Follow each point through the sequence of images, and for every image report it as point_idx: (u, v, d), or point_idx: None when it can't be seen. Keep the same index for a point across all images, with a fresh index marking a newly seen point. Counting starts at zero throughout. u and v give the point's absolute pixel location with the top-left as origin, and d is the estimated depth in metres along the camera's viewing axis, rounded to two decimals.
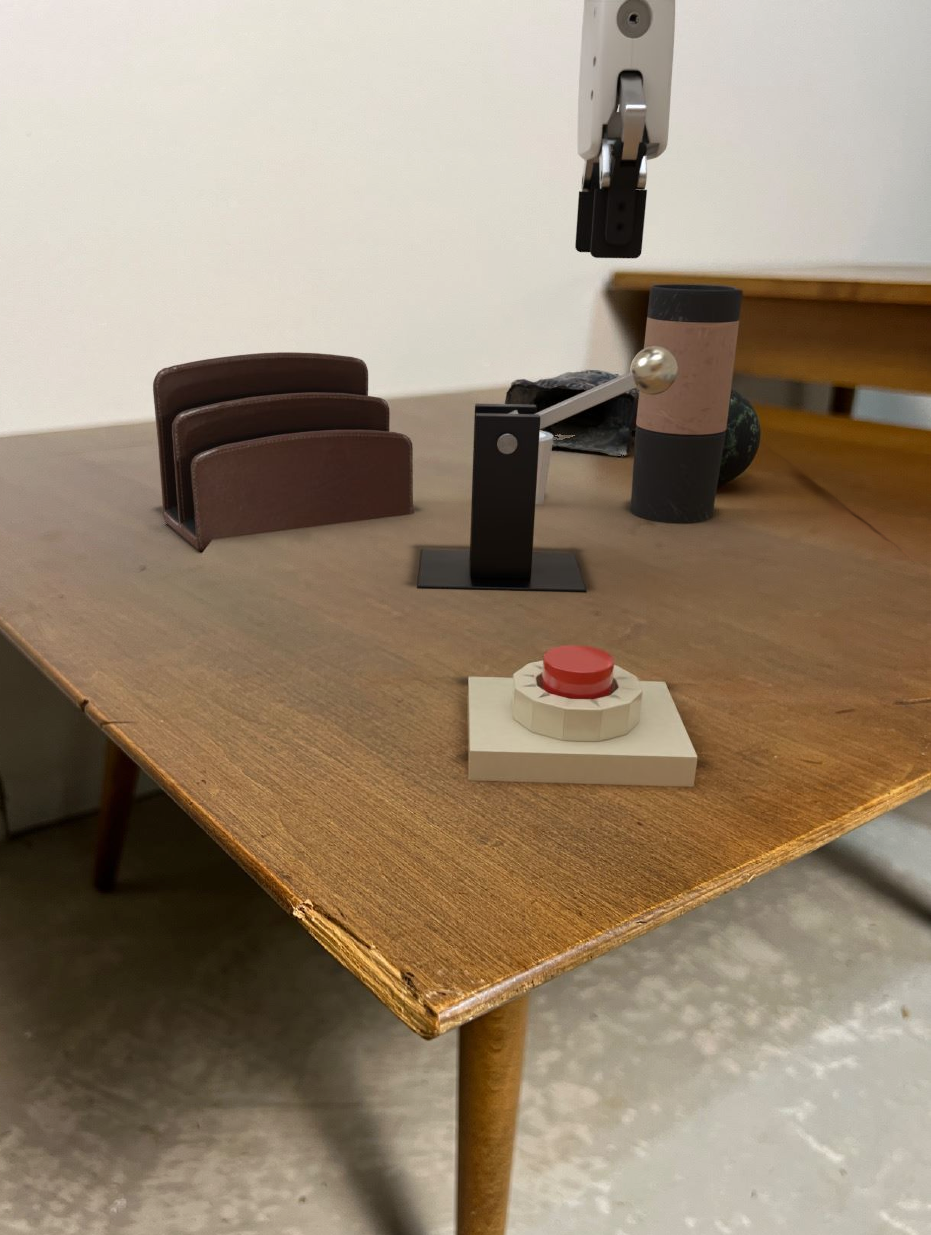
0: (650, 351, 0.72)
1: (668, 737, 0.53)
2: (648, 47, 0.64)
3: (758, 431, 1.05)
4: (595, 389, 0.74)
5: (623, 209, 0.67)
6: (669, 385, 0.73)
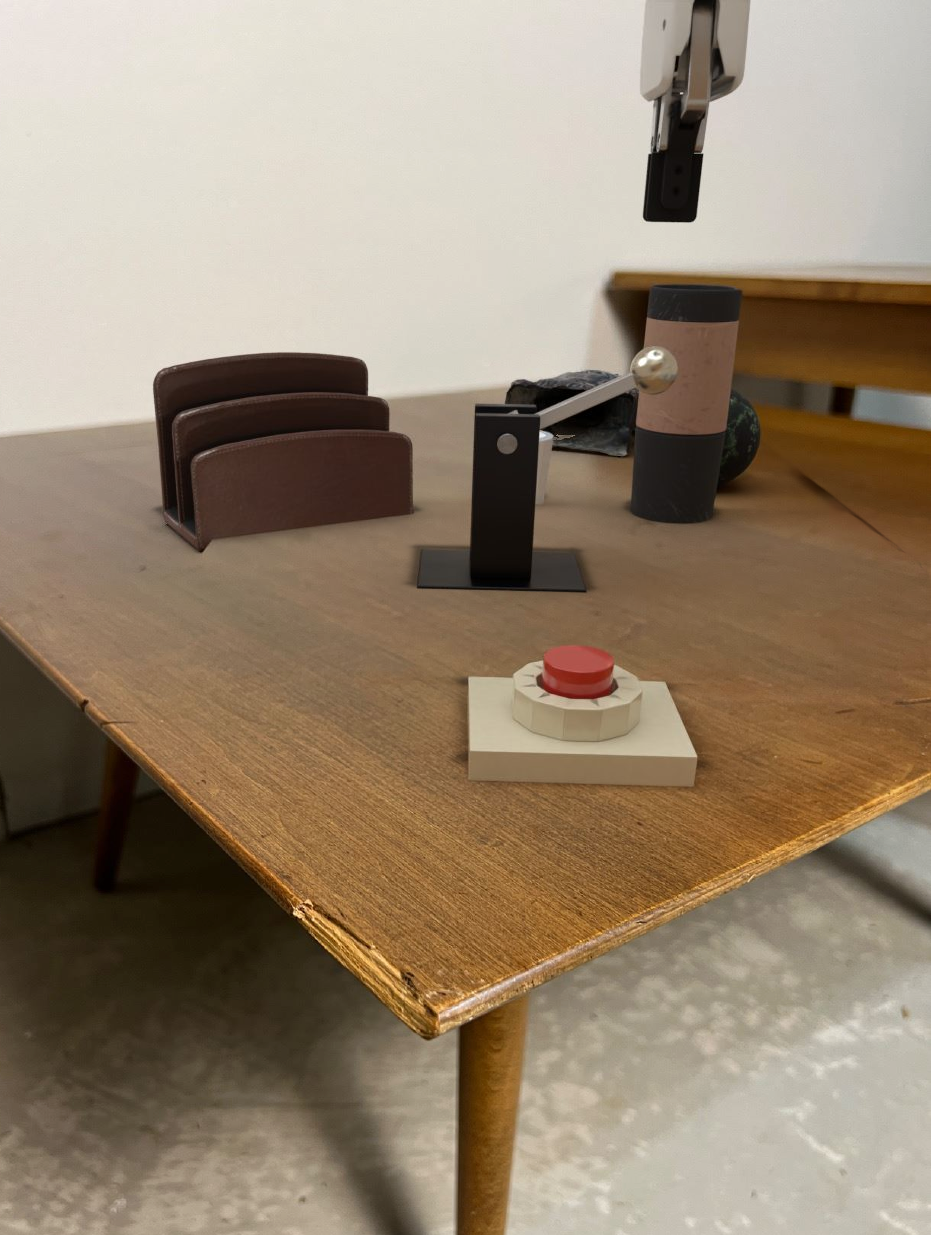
0: (650, 351, 0.72)
1: (668, 737, 0.53)
2: None
3: (758, 431, 1.05)
4: (595, 389, 0.74)
5: (680, 173, 0.67)
6: (669, 385, 0.73)
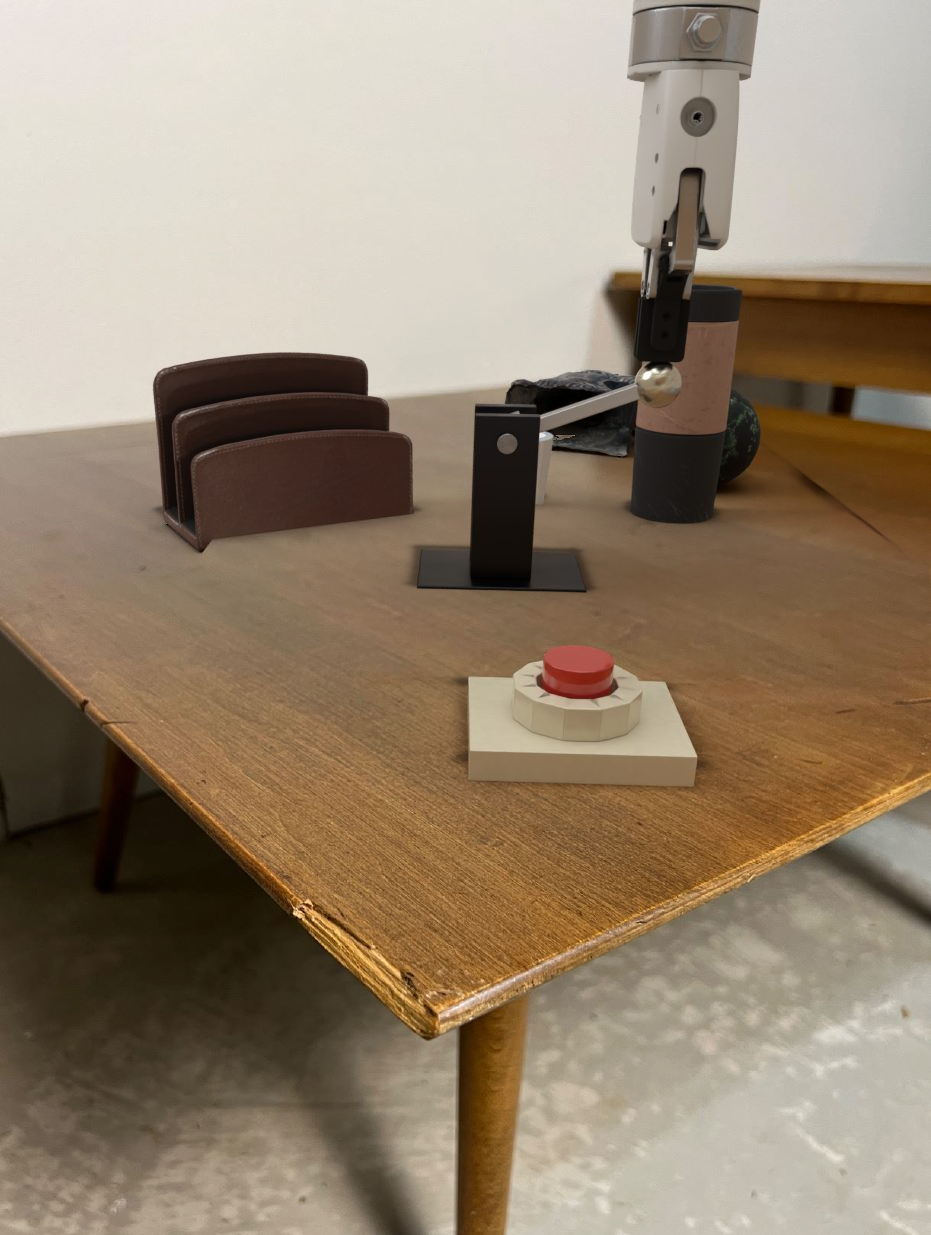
0: (656, 364, 0.73)
1: (668, 737, 0.53)
2: (712, 145, 0.63)
3: (758, 431, 1.05)
4: (598, 397, 0.74)
5: (668, 318, 0.71)
6: (672, 400, 0.73)
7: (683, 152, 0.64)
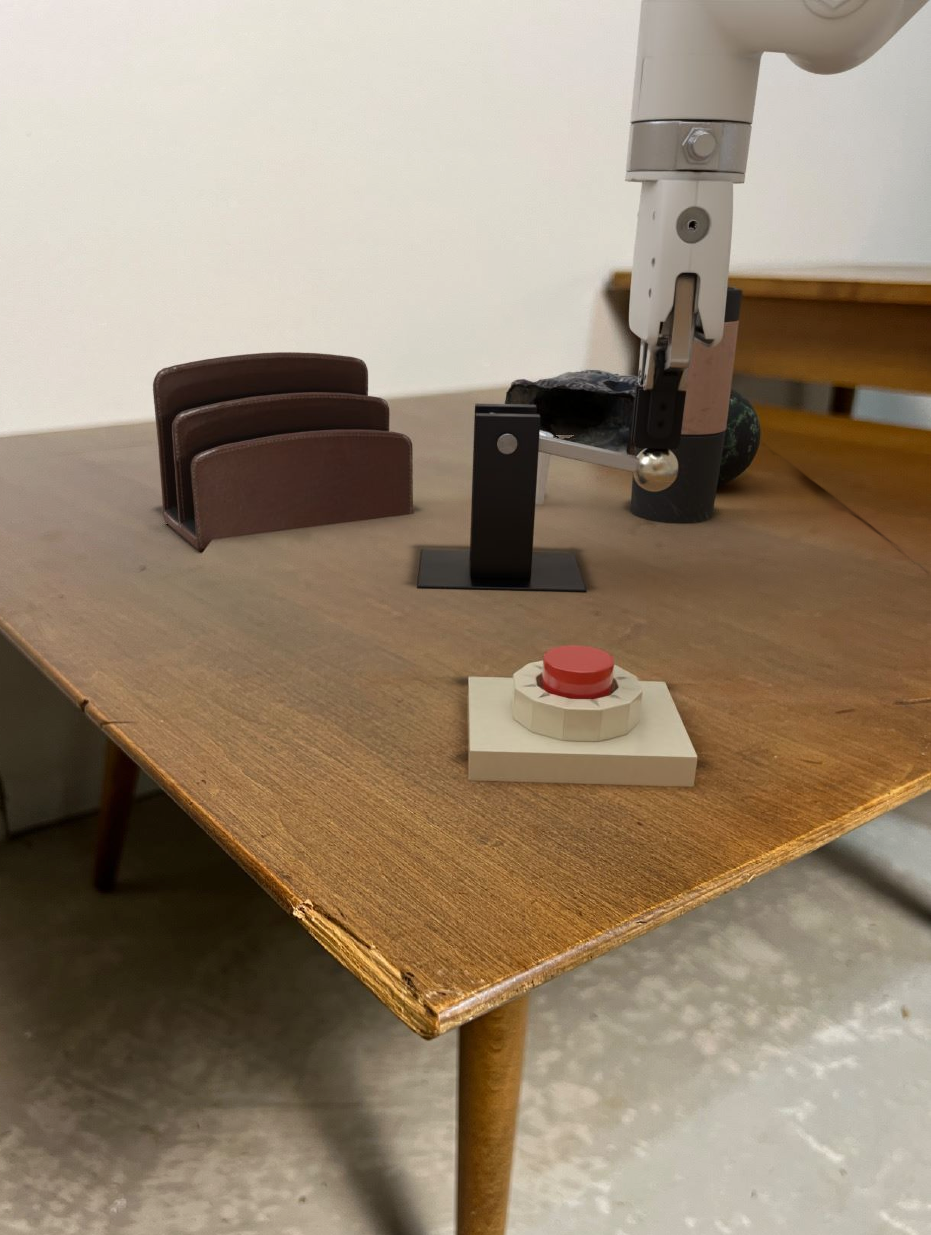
0: (664, 451, 0.75)
1: (668, 737, 0.53)
2: (706, 252, 0.66)
3: (758, 431, 1.05)
4: (602, 450, 0.76)
5: (664, 408, 0.73)
6: (660, 489, 0.76)
7: (679, 258, 0.66)
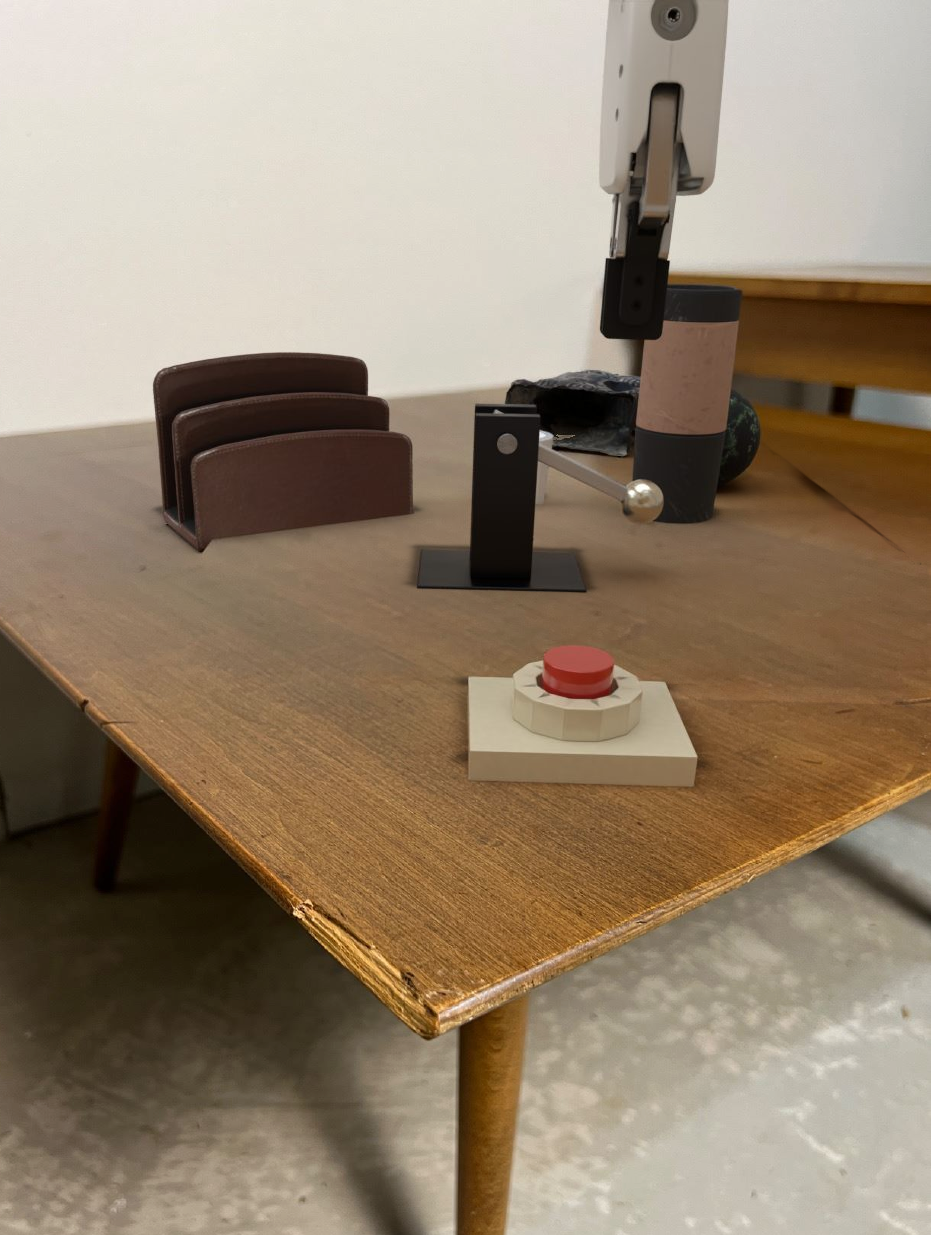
0: (654, 487, 0.76)
1: (668, 737, 0.53)
2: (692, 52, 0.49)
3: (758, 431, 1.05)
4: (594, 472, 0.76)
5: (641, 284, 0.56)
6: (641, 523, 0.77)
7: (654, 61, 0.49)
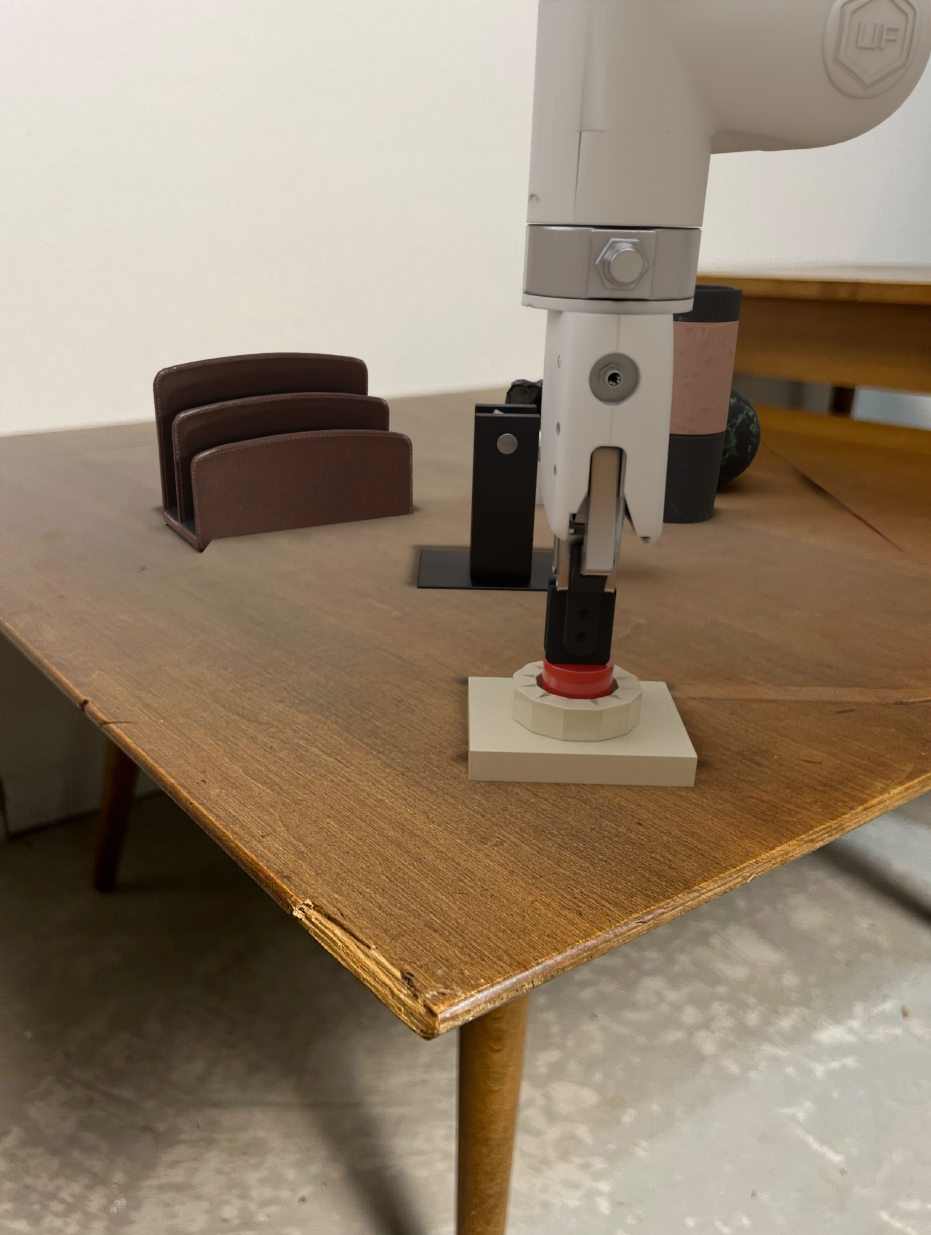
0: None
1: (668, 737, 0.53)
2: (634, 418, 0.45)
3: (758, 431, 1.05)
4: None
5: (586, 615, 0.52)
6: None
7: (594, 426, 0.45)
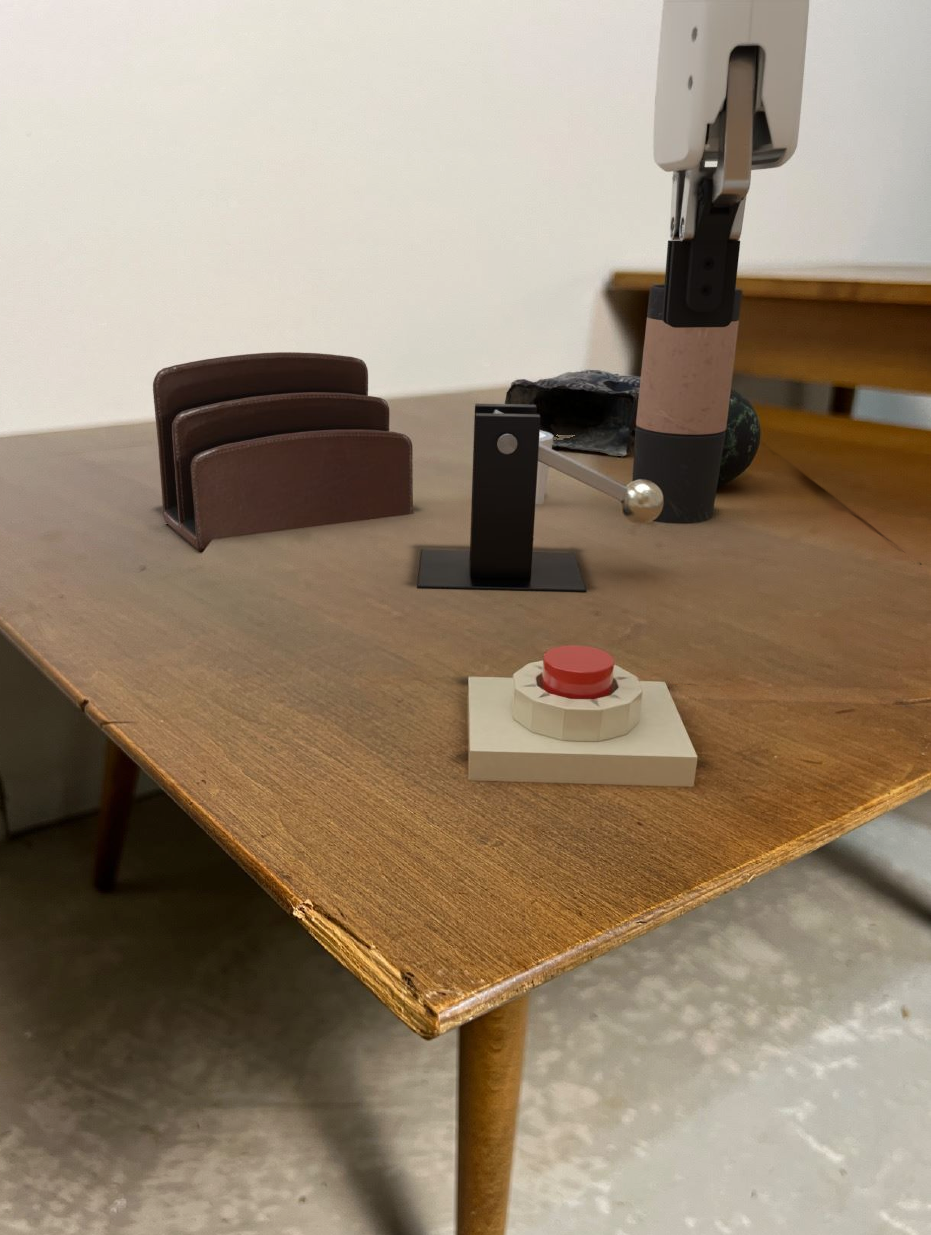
0: (654, 487, 0.76)
1: (668, 737, 0.53)
2: (774, 11, 0.44)
3: (758, 431, 1.05)
4: (594, 472, 0.76)
5: (710, 267, 0.52)
6: (641, 523, 0.77)
7: (733, 22, 0.45)
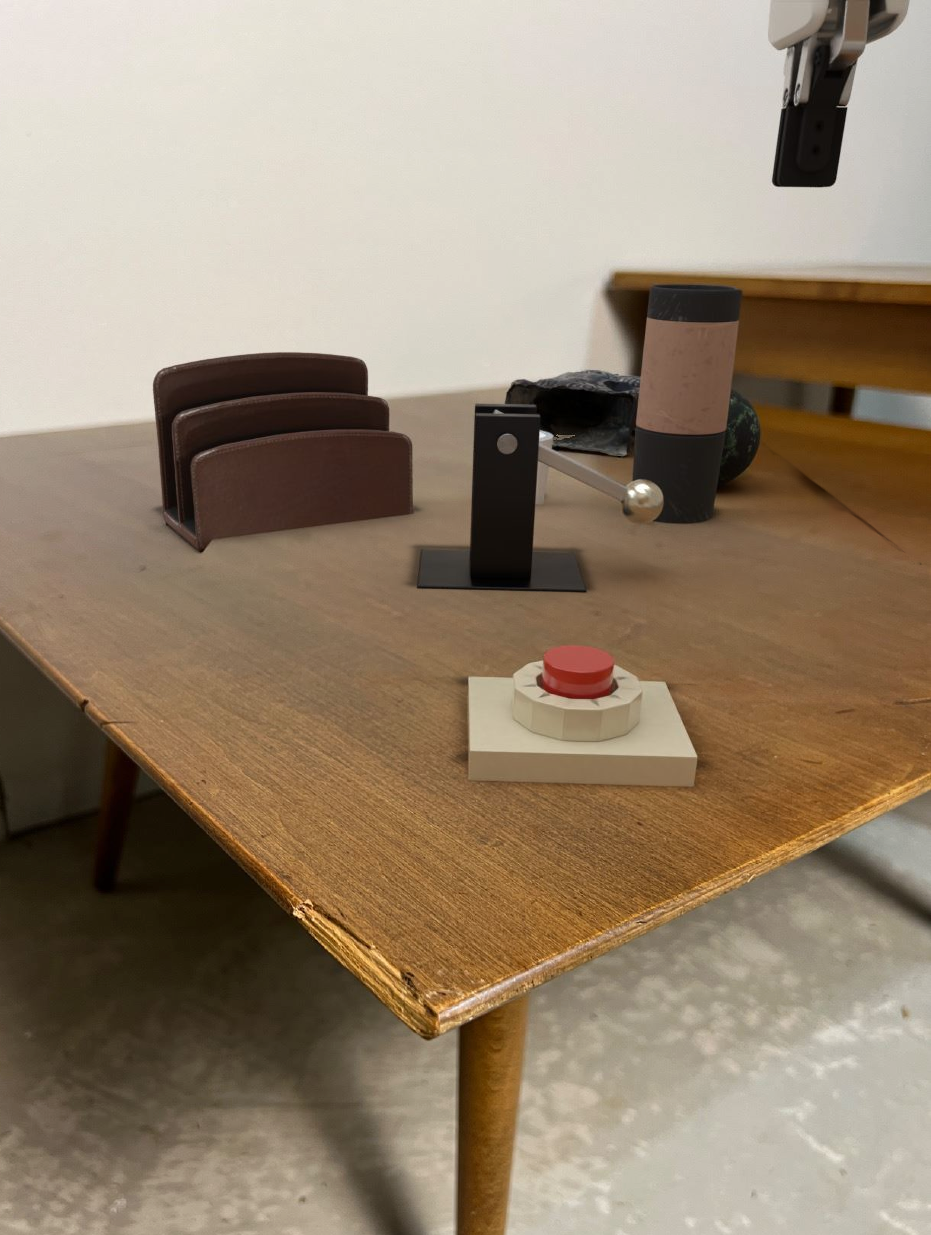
0: (654, 487, 0.76)
1: (668, 737, 0.53)
2: None
3: (758, 431, 1.05)
4: (594, 472, 0.76)
5: (821, 129, 0.59)
6: (641, 523, 0.77)
7: None
